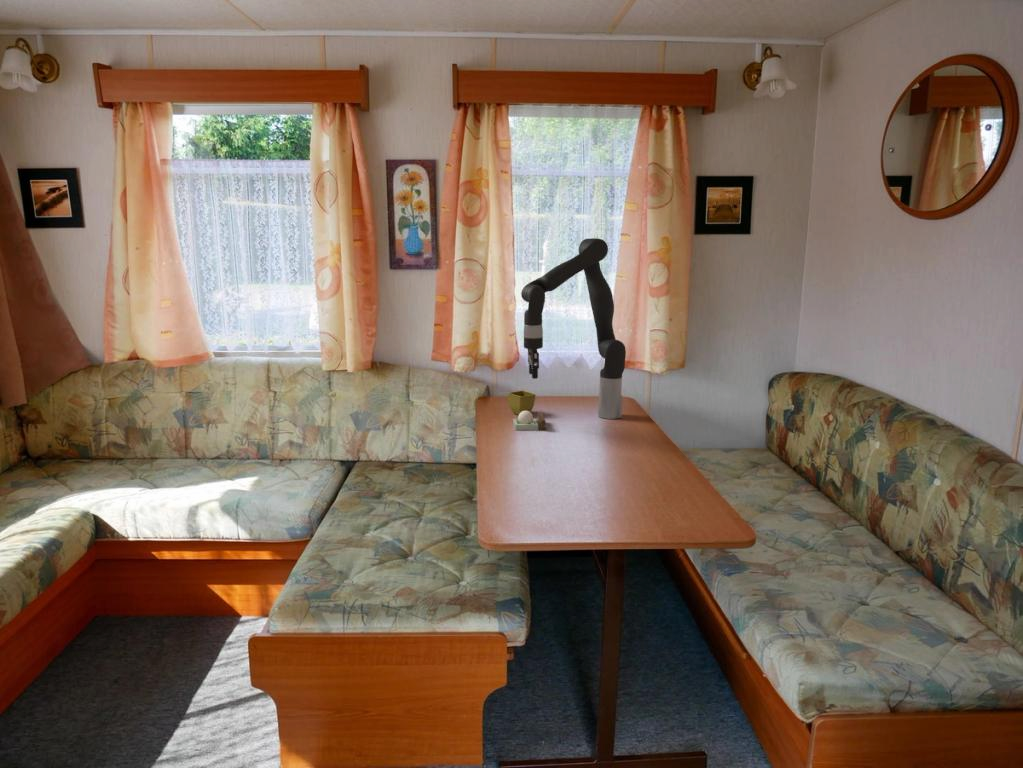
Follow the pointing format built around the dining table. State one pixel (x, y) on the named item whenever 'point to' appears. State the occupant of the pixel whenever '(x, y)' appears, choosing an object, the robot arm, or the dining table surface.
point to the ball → (525, 417)
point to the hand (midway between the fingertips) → (533, 376)
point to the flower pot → (521, 401)
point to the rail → (541, 422)
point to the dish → (525, 425)
